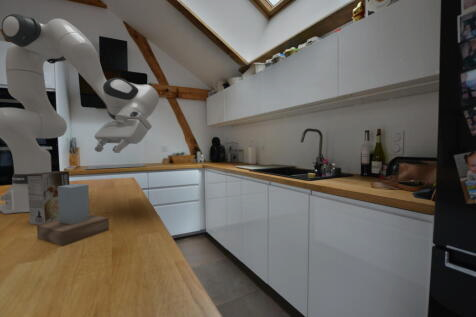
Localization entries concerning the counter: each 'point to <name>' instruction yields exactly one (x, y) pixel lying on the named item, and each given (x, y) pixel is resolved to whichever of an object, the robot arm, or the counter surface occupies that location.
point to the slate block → (73, 203)
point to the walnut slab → (72, 230)
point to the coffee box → (45, 195)
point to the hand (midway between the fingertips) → (105, 151)
